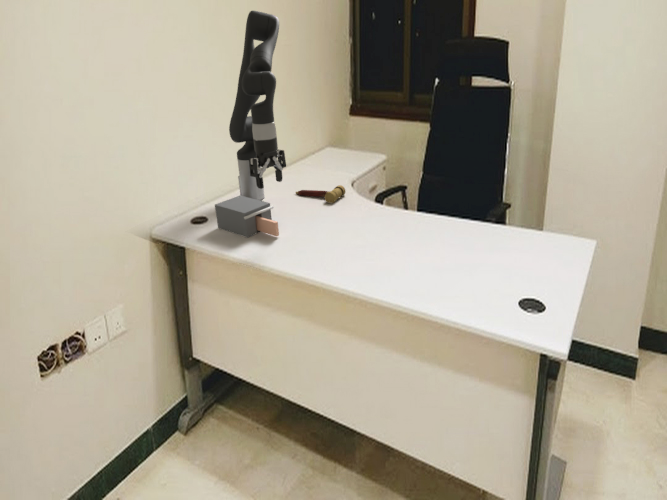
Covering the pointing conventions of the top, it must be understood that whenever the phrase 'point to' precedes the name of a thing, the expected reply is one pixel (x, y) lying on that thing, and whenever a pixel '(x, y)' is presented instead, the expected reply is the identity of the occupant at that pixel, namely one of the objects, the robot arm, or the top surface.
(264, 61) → the robot arm
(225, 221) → the dispenser
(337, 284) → the top surface
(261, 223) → the ticket strip
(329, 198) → the gavel
